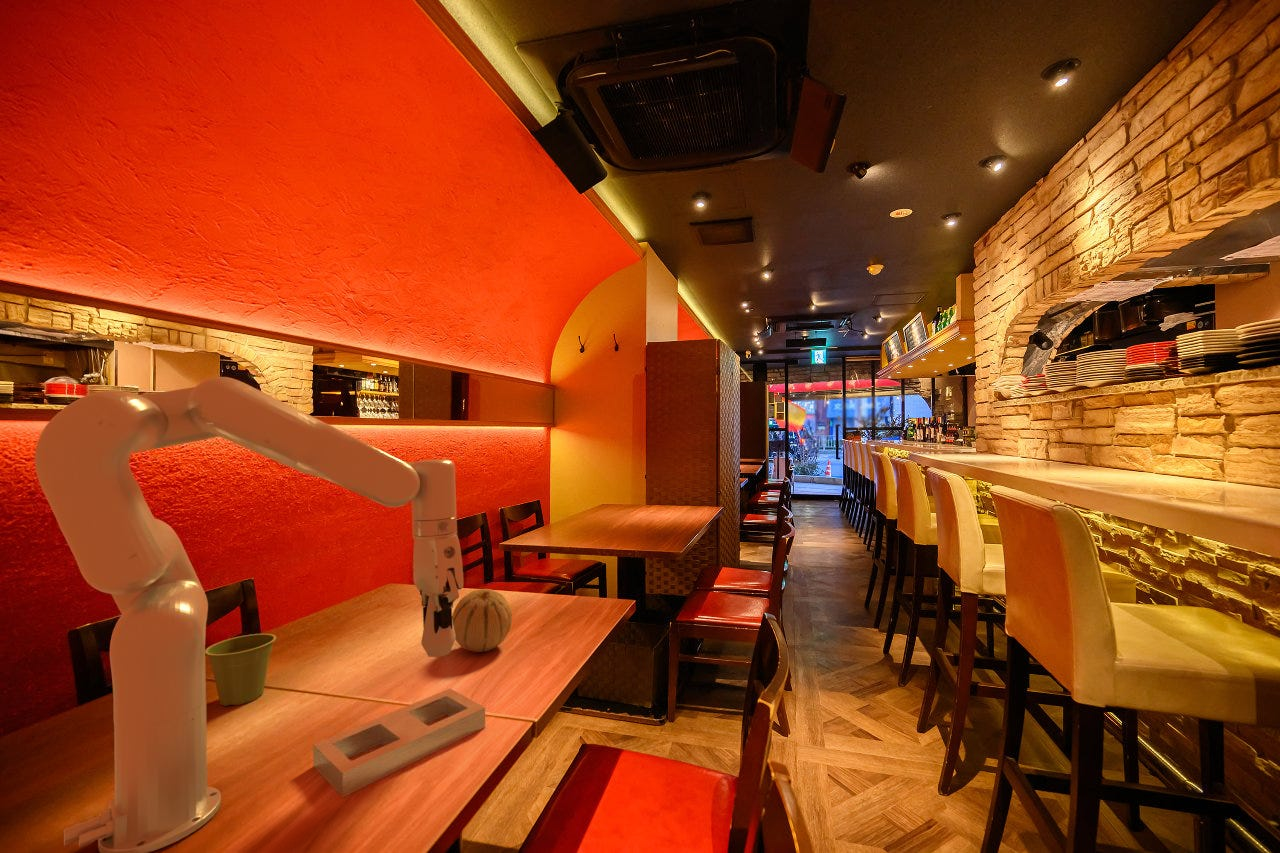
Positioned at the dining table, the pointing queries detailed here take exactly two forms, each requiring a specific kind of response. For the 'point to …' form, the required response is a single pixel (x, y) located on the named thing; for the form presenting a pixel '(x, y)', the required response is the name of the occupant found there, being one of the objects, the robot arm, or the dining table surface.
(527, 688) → the dining table surface
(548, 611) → the dining table surface
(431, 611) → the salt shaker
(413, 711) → the beige compartment tray
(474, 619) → the cantaloupe
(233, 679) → the plant pot
